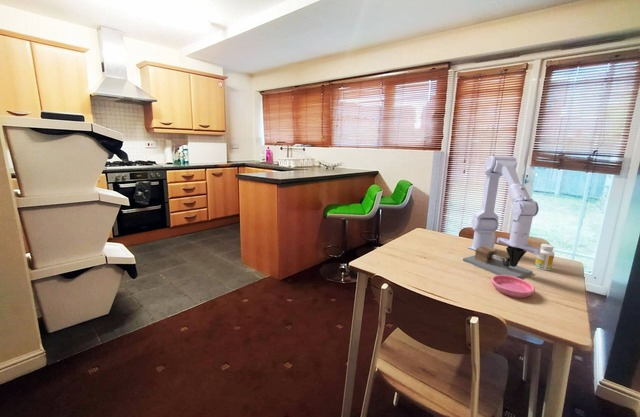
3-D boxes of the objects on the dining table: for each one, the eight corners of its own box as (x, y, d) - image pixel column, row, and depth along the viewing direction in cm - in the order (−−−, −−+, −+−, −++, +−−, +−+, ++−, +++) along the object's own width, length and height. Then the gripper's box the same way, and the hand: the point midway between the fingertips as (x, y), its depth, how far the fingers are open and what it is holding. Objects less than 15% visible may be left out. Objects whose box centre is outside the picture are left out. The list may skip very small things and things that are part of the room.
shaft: (485, 256, 123) (486, 248, 122) (510, 266, 114) (512, 257, 113) (479, 257, 121) (481, 249, 120) (505, 267, 112) (507, 259, 111)
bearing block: (483, 256, 125) (485, 245, 124) (494, 260, 121) (496, 249, 119) (474, 258, 122) (476, 248, 121) (485, 263, 118) (487, 252, 117)
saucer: (517, 304, 90) (519, 295, 90) (481, 285, 101) (483, 277, 101) (541, 296, 95) (543, 288, 94) (505, 280, 106) (506, 272, 106)
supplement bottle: (548, 266, 119) (553, 244, 117) (552, 271, 114) (558, 248, 112) (533, 264, 121) (537, 242, 119) (536, 269, 116) (541, 246, 114)
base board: (482, 255, 129) (483, 253, 129) (532, 273, 112) (532, 271, 112) (462, 260, 122) (463, 258, 122) (512, 280, 105) (512, 278, 105)
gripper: (494, 228, 112) (488, 260, 116) (536, 239, 100) (528, 275, 103) (504, 226, 116) (499, 257, 119) (546, 236, 103) (538, 271, 107)
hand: (513, 265), depth 111 cm, fingers closed
